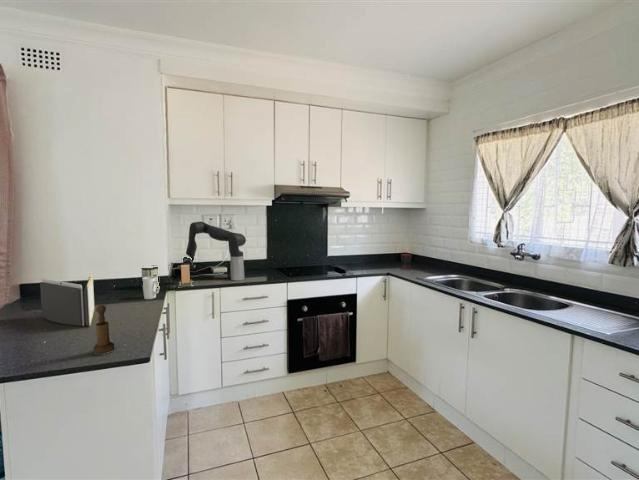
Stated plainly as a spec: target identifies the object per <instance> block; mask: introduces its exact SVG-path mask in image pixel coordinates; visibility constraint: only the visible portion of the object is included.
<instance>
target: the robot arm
mask: <svg viewBox="0 0 639 480" xmlns="http://www.w3.org/2000/svg"><path fill="white" fill-rule="evenodd" d="M198 234H208V235H209V237H210V238H211V239H213V240H216V241H219V242H220V241H221V242H228V252H229V254H230V255H229V256H230V257H229V259H230V279H231V281H242V280H243V281H244V280H245V266H244V263H245V262H244V252H243V251H241V250H240V248H239V247H242V246H244V245H245V244H246V242H247V239H246V237H245V235H244V234H242V233H239V232H237V233H236V232H233V231H229V230H226V229H224V228H221V227H218V226H214V225H210V224H208V223H206V222H204V221H195V222H191V223H190V224H189V229H188V242H187V246H186V247H187V248H186V251H185V255H186V256H189V257H191V258H192V260H191V259H190V258H187V257H184V258H183V263H182V262H181V264H177V269H178V270H179V269H180V270H181V265H189V271H190V270H192V269H196V265H197V264H196V263H195V264H194V265H193V260H194V256H195V257H196V252H197V248H198V247H197V246H198V245H197V242H196V237H197V235H198Z"/></svg>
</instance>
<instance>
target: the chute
mask: <svg viewBox="0 0 639 480" xmlns="http://www.w3.org/2000/svg"><path fill="white" fill-rule="evenodd" d="M192 282H195V281H193V279H190V286H192V287H194V285H192ZM178 283H179V286H181V283H182V279H181V280H179V282H178Z"/></svg>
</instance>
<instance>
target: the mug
mask: <svg viewBox="0 0 639 480" xmlns="http://www.w3.org/2000/svg"><path fill="white" fill-rule="evenodd" d="M159 283H160V281H159V282H158V280H155V277H144V278H143V285H142V291H143V299H144V300H151V299H152V300H153V299H155V298H157V294H159V292H160V288H161V287H160V286H161V285H160V286H159ZM156 284H157V286H158V288H157V289H156Z"/></svg>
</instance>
